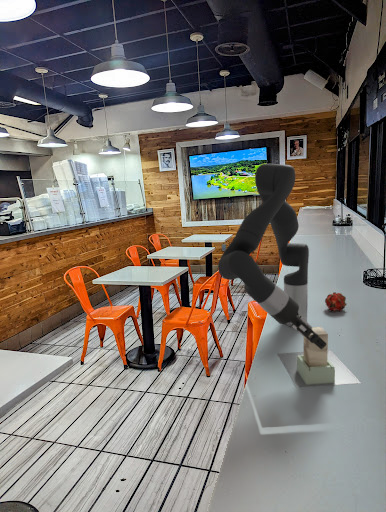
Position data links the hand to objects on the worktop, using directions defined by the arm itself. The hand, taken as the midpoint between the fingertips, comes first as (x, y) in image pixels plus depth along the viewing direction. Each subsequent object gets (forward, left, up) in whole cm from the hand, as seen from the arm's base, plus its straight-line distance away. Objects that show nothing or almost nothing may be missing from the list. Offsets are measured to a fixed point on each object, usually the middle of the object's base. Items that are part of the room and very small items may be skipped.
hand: (317, 339), depth 97 cm
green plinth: (0, -1, -11) cm, 11 cm away
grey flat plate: (-5, +1, -12) cm, 13 cm away
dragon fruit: (-54, +29, -13) cm, 63 cm away
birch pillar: (0, -1, -7) cm, 7 cm away
